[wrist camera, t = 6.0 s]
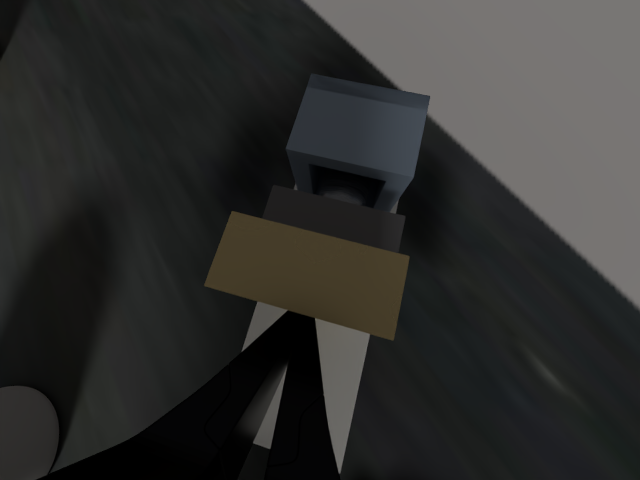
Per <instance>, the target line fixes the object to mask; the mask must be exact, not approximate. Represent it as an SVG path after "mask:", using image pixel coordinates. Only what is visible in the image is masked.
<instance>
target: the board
mask: <svg viewBox="0 0 640 480" xmlns="http://www.w3.org/2000/svg"><path fill="white" fill-rule="evenodd" d="M294 190H298V189H297V186H296V183H295V186H294ZM398 201H399V199H398ZM398 201H397V202H396V204H395V205H394V206H393V208H392V209H391V211H390V213H395V214H396V210H397V205H398ZM286 311H287V310H286V309H282V308H279V307H275V306H272V305H268V304H265V303H261V302H257V305H256V308H255V311H254V314H253V317H252V321H251V324H250V327H249V330H248V333H247V336H246V339H245V342H244V346H243V349H242V351H243V350H244V349H246V348H247V347H248V346H249V345H250V344H251V343H252V342H253V341H254V340H255V339H257V338H258V337H259V336H260V335H261V334H262V333H263V332H264V331H265V330H266V329H268V328H269V327H270V326H271V325H272V324H273V323H274V322H275V321H276V320H277V319H279V318H280V317H281V316H282V315H283V314H284V313H285V312H286ZM315 321H316V329H317V338H318V347H319V355H320V364H321V373H322V381H323V390H324V398H325V406H326V413H327V420H328V426H329V431H330V436H331V441H332V446H333V450H334V454H335V459H336V463H337V467H338V472H339V473H340V472H341V467H342V462H343V458H344V453H345V448H346V444H347V439H348V434H349V430H350V425H351V420H352V416H353V411H354V406H355V402H356V397H357V392H358V388H359V383H360V378H361V374H362V369H363V364H364V360H365V355H366V350H367V345H368V341H369V336H370V334H368V333H365V332H361V331H358V330H355V329H351V328H348V327H344V326H341V325H337V324H334V323H330V322H327V321H324V320H320V319H317V318H315ZM286 370H287V368H286ZM286 370H285V372H284V374H283V377H282V379H281V381H280V383H279V386H278V388H277V390H276V392H275V395H274V397H273V399H272V401H271V404H270V406H269V408H268V410H267V413H266V415H265V417H264V419H263V422H262V424H261V426H260V428H259V431H258V433H257V435H256V437H255V440H254V442H253V443H254V444H257V445H260V446H263V447H265V448H268V449H270V448H271V443H272V438H273V433H274V429H275V424H276V419H277V414H278V409H279V404H280V399H281V394H282V389H283V384H284V380H285V375H286Z"/></svg>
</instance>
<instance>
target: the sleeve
mask: <svg viewBox="0 0 640 480" xmlns="http://www.w3.org/2000/svg"><path fill="white" fill-rule="evenodd" d="M405 217H406V216H403V215H399V214H395V213H390V212H386V211H382V210H378V209H374V208H370V207H365V206H361V205H357V204H353V203H349V202H344V201H340V200H336V199H332V198H328V197H323V196H319V195H315V194H311V193H307V192H303V191H298V190H294V189H290V188H286V187H282V186H277V185H273V187H272V190H271V193H270V196H269V199H268V202H267V205H266V208H265V211H264V213H263V216H262V219H265V220H269V221H273V222H277V223H281V224H285V225H289V226H293V227H297V228H300V229H304V230H308V231H312V232H316V233H320V234H324V235H328V236H332V237H336V238H340V239H344V240H348V241H352V242H356V243H359V244H363V245H367V246H371V247H375V248H379V249H383V250H387V251H391V252H395V253H398V251H399V247H400V242H401V237H402V232H403V227H404V222H405Z"/></svg>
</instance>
